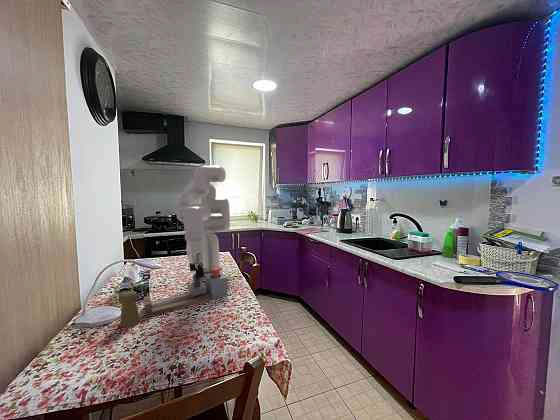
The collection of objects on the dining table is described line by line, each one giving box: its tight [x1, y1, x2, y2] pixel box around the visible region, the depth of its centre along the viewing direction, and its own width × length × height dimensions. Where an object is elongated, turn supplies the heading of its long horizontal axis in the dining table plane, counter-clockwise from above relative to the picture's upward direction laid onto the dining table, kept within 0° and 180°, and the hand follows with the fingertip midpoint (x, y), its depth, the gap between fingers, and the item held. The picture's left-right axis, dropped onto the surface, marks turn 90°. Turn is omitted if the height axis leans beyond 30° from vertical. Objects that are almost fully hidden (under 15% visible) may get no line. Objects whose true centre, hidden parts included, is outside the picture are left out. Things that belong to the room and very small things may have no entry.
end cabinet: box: [204, 271, 229, 300], centre depth 105 cm, size 10×7×8 cm
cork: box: [119, 290, 141, 328], centre depth 82 cm, size 6×6×11 cm
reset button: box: [209, 267, 222, 278], centre depth 105 cm, size 5×5×4 cm
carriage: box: [187, 273, 207, 297], centre depth 100 cm, size 7×6×8 cm
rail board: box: [143, 291, 212, 318], centre depth 96 cm, size 10×24×4 cm, turn 124°
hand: (196, 274), depth 101 cm, fingers open, 9 cm apart
